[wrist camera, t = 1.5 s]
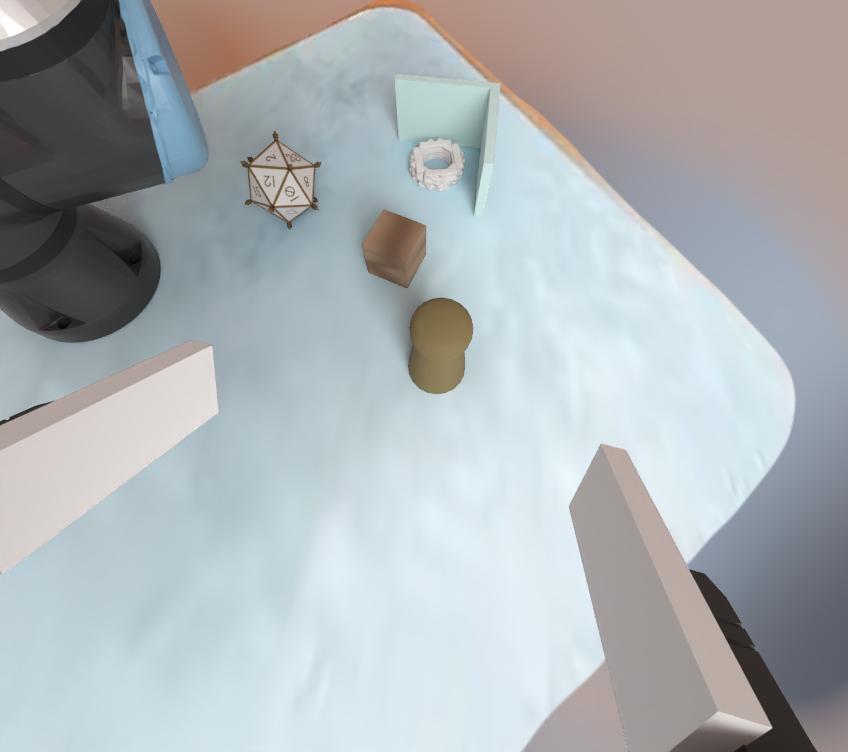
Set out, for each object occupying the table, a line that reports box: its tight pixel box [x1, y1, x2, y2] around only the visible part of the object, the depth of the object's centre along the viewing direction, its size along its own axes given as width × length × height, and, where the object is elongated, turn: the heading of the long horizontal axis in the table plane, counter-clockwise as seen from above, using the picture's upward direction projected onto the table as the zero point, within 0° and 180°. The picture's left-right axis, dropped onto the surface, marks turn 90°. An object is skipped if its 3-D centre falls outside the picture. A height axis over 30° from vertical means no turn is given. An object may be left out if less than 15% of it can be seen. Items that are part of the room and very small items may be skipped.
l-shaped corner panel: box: [395, 74, 500, 217], centre depth 43 cm, size 12×12×8 cm
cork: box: [408, 298, 473, 394], centre depth 33 cm, size 6×6×11 cm
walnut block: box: [362, 210, 426, 288], centre depth 40 cm, size 5×5×5 cm
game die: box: [240, 131, 321, 230], centre depth 41 cm, size 9×8×10 cm
